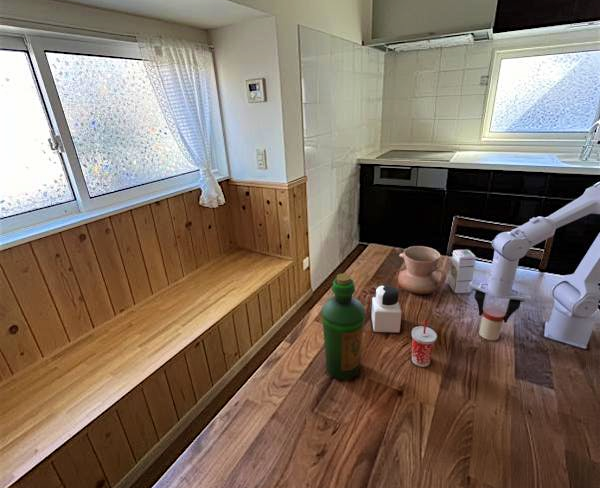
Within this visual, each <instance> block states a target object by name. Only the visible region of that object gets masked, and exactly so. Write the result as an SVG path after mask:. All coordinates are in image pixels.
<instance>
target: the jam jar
mask: <svg viewBox="0 0 600 488" xmlns="http://www.w3.org/2000/svg"><path fill="white" fill-rule="evenodd" d="M503 323H504V320H503V321H500V322H496V321H491V320H488V319H486V318H485V317H484V316H483V315H482V316H481V320H480V325H479V328H478V329H479V330H478V334H479V336H480V337H482V338H483V339H485V340H488V341H497V340H499V339H500V335H501V331H502V326H503Z"/></svg>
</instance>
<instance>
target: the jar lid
mask: <svg viewBox="0 0 600 488" xmlns="http://www.w3.org/2000/svg"><path fill="white" fill-rule="evenodd" d="M482 315H483V316H484V317H485V318H486V319H488V320H491V321H496V322H500V321H503V322H504V318H505V315H506V311H505V309H503V308H502V307H499V306H497V305H493V304H487V305H483V310H482Z"/></svg>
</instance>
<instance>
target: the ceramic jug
mask: <svg viewBox="0 0 600 488" xmlns="http://www.w3.org/2000/svg"><path fill="white" fill-rule="evenodd" d="M399 258H402V259H403V261H404V263H405V267H406V268H405V269H404V270H400V271H399V273H398V276H397V282H398V284H399V286H400V287H401V288H402V289H403V290H405V291H407V292H408V293H411V294H416V295H429V294H433V293H435V292H437V291H438V290H439V289H440V288H441V286H442V285H443V284H444V283H445V282H446V279H447V271H446V270H445V268H443V267H441V266H438V264H439V262H440V258H441V253H440V252H439V251H437V249H434V248H432V247H430V246H429V247H428V246H425V245H413V246H409V247H407V248H404V250H403V252H402V253H400V254H399ZM435 272H440V273H441V278H440V277H439V276H438V275H437V274H436V273H435Z"/></svg>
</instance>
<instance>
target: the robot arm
mask: <svg viewBox="0 0 600 488" xmlns="http://www.w3.org/2000/svg"><path fill="white" fill-rule="evenodd" d="M591 214H593V215H595V214H596V215H600V181H599V182H597V183H595V184H593V185H592V186H590V187H588V188H586V189H585V191H584V192H583V194H582V195H580V196H579V197H578V198H575V199H574V200H572V201H571V202H569V203H567V204H566V205H564V206H562V207H561V208H559V209H558V210H556V211H555V212H553V213H551V214H549V215H548V216H545V217H544V216H537V217H532V218H530V219H529V221H527V222H525V223H523V224H522V225H520V226H517V227H516V228H513V229H511V230H510V231H503V232H500V233H498V234H497V235H496V236H495V237H494V239H492V240H491V246H492V248H493V249H494V251H493V258H492V263H491V268H490V273H489V278H488V283H486V282H476V281H475V282H474V281H472V282H470V285H469V291H470V292H473V291H474V300H475V302H476V304H477V308H478V309H477V310H478V316H480V317H482V310H483V307H484V306H485V299H486V295H489V296H492V297H493V298H498V299H504V300H505V299H508V304H507V308H506V311H505V313H506V315H505V318H504V320H503V323H505V324H506V323H508V320H509V319H510V317H511V316H512V315H513V314H514V313H515V312H516V311H517V310H519V308H520V306H521V303H523V304H524V305H527V306H529V305H530V302H531V295H530V294H527V293H524V292H521V291H518V290H517V289H513V286H514V282H515V278H516V274H517V270H518V267H519V266H518V265H519V261H520V259H522V258H524V257H525V256H526V254H527V253H528V251H530V250H531V248H532V247H534V246H536V245H538V244H540V243H542V242H543V241H545V240H547V239H549V238H551V237H553V236H554V235H555V232H556V230H557V229H559V228H561V227H563V226H565V225H568V224H569V223H572V222H574V221H576V220H579V219H581V218H583V217H586V216H588V215H591ZM599 283H600V232H599V233H598V234H597V236H596V237H595V239H594V241H593V242H592V244H591V245H590V247H589V249H588V250H587V252H586V254H585V255H584V256H583V258H582V259H581V261H580V263H579V264H578V266H577V268H576V269H575V271H574V272H573V273H571V274H565V275H563V276H562V278H561V279H560V280H559V281H558V282H556V283H555V284H554V285H553V286H552V288H551V290H550V291H551V292H550V293H551V296H552V297H553V298H554V299H553V302H554V305H553V307H552V310H551V314H550V317H549V321H545V323H544V334H543V336H544V338H547V339H550V340H554V341H557V342H559V343H564V344H566V345H570V346H572V347H573V346H574V347H577V348H579V349H584V350H587V349H588V344H589V341H590V338H591V336H592V333H593V331H594V328H595V325H596V314H594V313H596V311H597V309H598V308H599V302H600V286H599Z"/></svg>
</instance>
